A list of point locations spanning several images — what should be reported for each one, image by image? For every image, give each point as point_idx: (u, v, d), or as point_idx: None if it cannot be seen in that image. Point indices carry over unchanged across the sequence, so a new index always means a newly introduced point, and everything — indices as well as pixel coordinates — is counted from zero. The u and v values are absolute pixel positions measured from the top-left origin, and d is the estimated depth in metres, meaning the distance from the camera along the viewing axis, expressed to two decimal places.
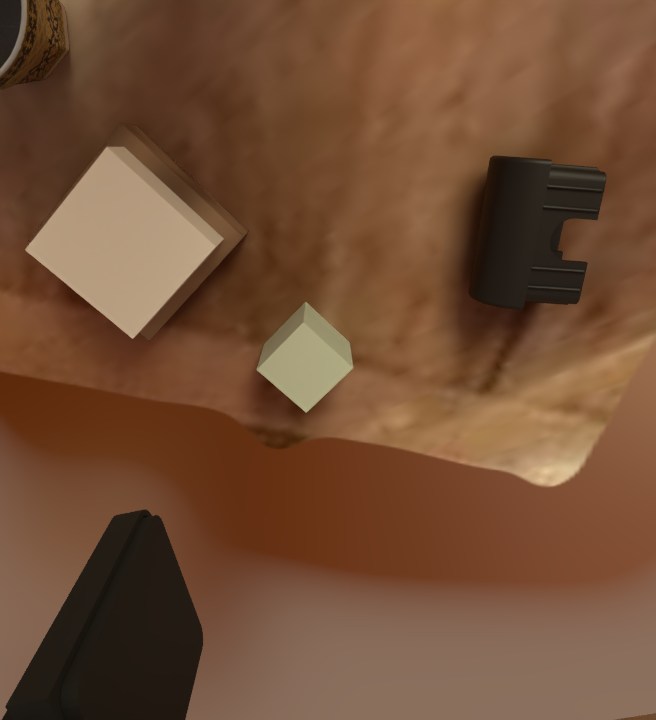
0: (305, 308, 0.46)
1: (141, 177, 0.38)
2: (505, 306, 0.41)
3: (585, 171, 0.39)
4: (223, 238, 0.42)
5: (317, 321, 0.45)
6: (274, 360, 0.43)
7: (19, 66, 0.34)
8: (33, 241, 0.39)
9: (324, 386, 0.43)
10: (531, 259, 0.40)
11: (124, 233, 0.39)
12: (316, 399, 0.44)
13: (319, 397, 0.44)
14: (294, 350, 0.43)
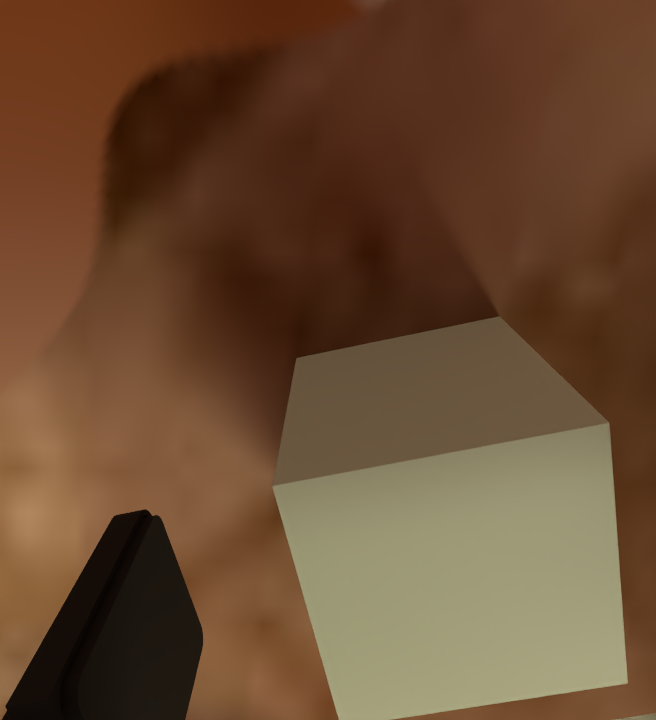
0: None
1: None
2: None
3: None
4: None
5: None
6: (584, 512, 0.09)
7: None
8: None
9: (339, 610, 0.10)
10: None
11: None
12: (305, 556, 0.09)
13: (306, 569, 0.09)
14: (558, 600, 0.10)
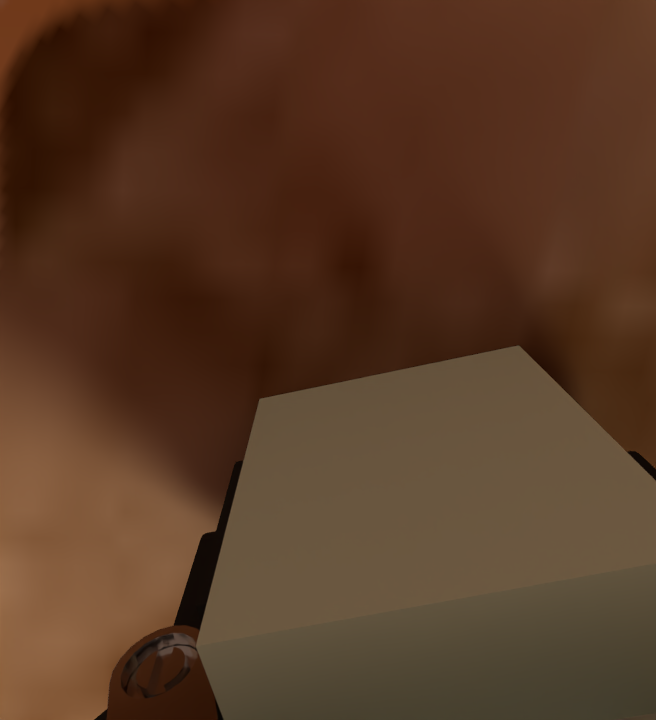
0: None
1: None
2: None
3: None
4: None
5: None
6: None
7: None
8: None
9: None
10: None
11: None
12: None
13: None
14: None
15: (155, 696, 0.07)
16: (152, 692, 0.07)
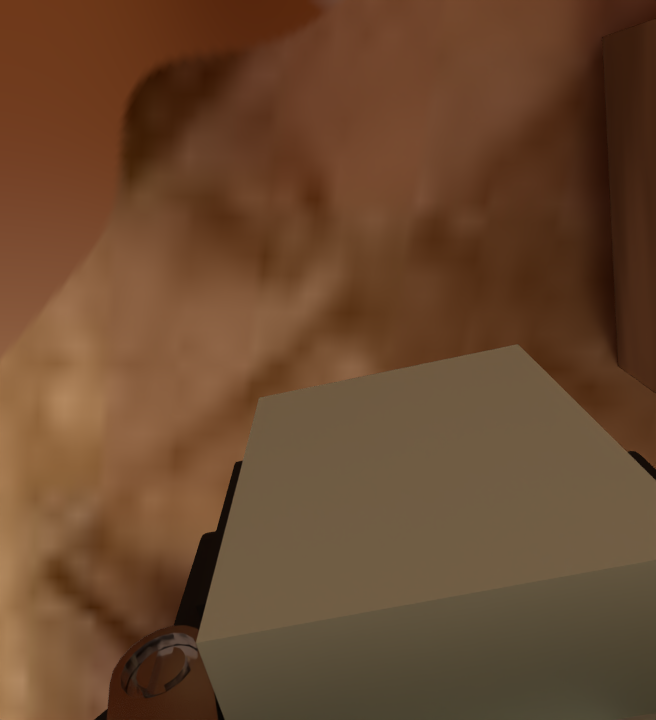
0: None
1: None
2: None
3: None
4: None
5: None
6: None
7: None
8: None
9: None
10: None
11: None
12: None
13: None
14: None
15: (155, 696, 0.07)
16: (152, 692, 0.07)
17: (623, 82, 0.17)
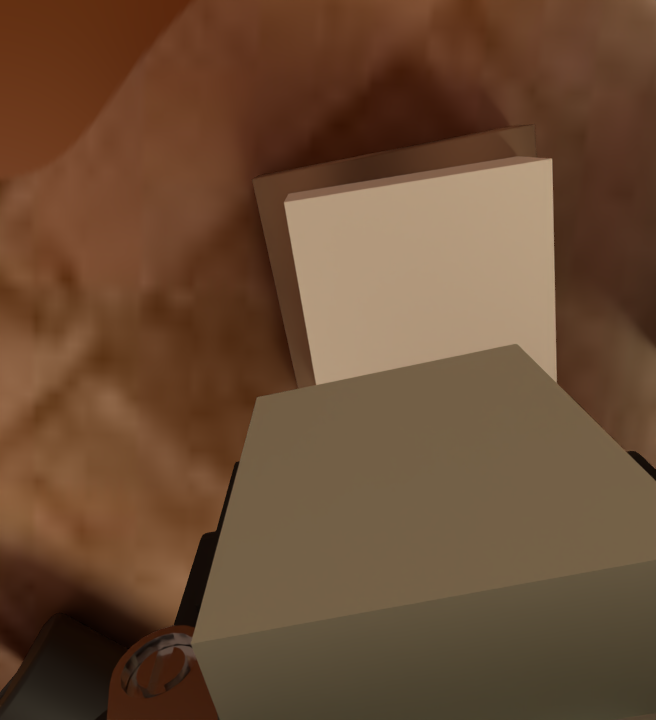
0: None
1: None
2: (7, 704, 0.27)
3: None
4: None
5: None
6: None
7: None
8: (550, 185, 0.20)
9: None
10: None
11: (442, 334, 0.21)
12: None
13: None
14: None
15: (155, 696, 0.07)
16: (152, 692, 0.07)
17: None
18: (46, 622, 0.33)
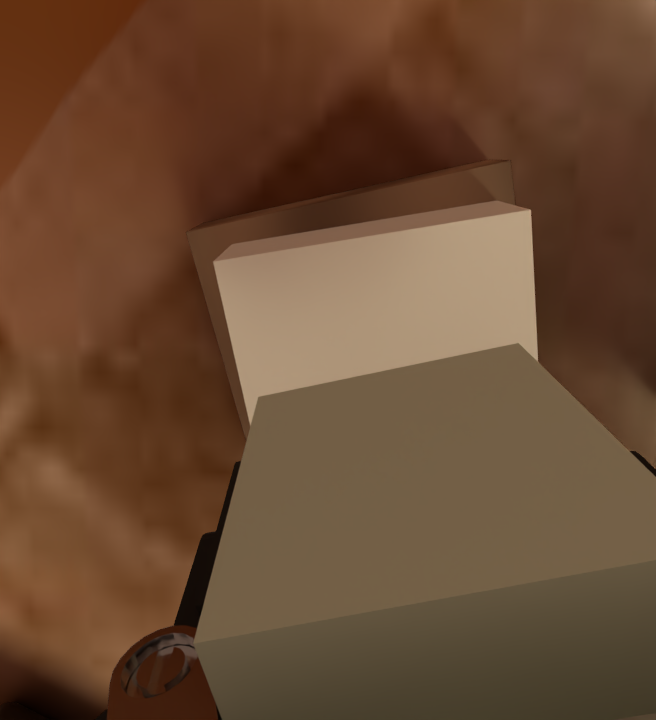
0: None
1: None
2: None
3: None
4: None
5: None
6: None
7: None
8: (529, 241, 0.17)
9: None
10: None
11: None
12: None
13: None
14: None
15: (155, 695, 0.07)
16: (152, 691, 0.07)
17: None
18: None
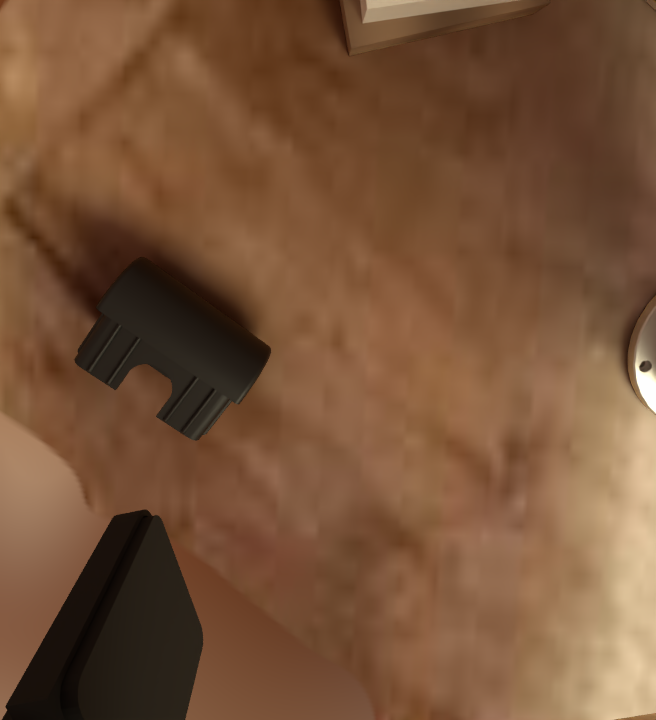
0: None
1: None
2: (109, 292, 0.34)
3: (209, 425, 0.37)
4: None
5: None
6: None
7: None
8: None
9: None
10: (149, 342, 0.34)
11: None
12: None
13: None
14: None
15: None
16: None
17: None
18: None
